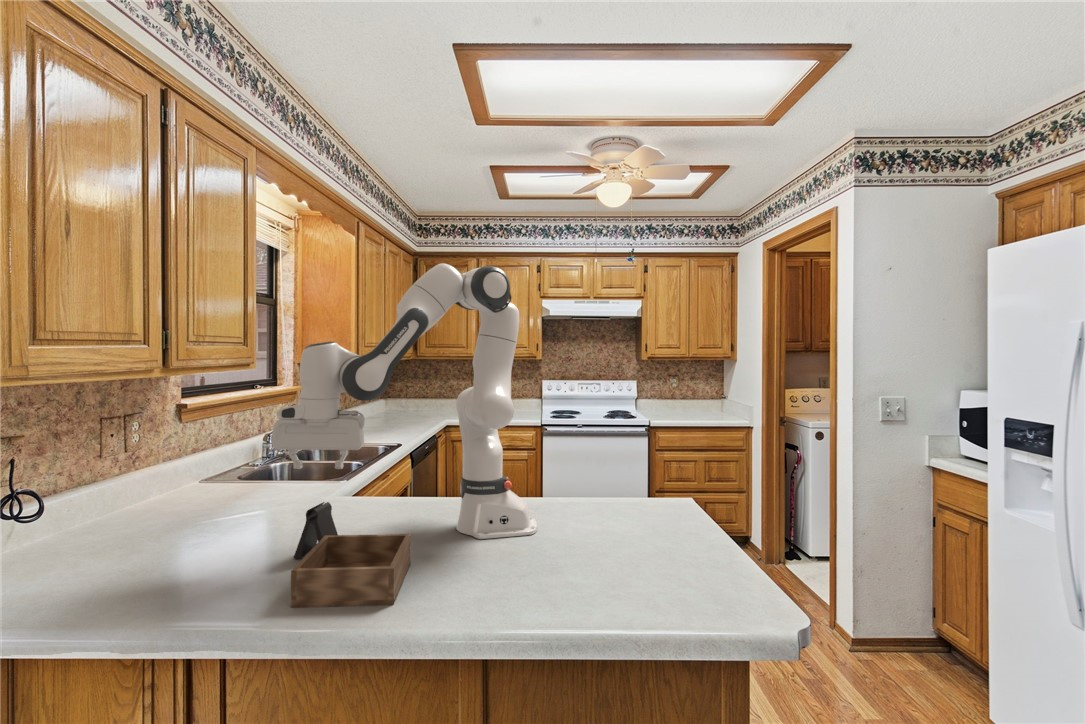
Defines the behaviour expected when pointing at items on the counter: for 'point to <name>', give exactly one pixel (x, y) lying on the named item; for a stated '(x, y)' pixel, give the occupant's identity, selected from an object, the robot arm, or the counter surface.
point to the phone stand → (315, 529)
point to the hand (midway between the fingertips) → (318, 468)
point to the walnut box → (352, 571)
